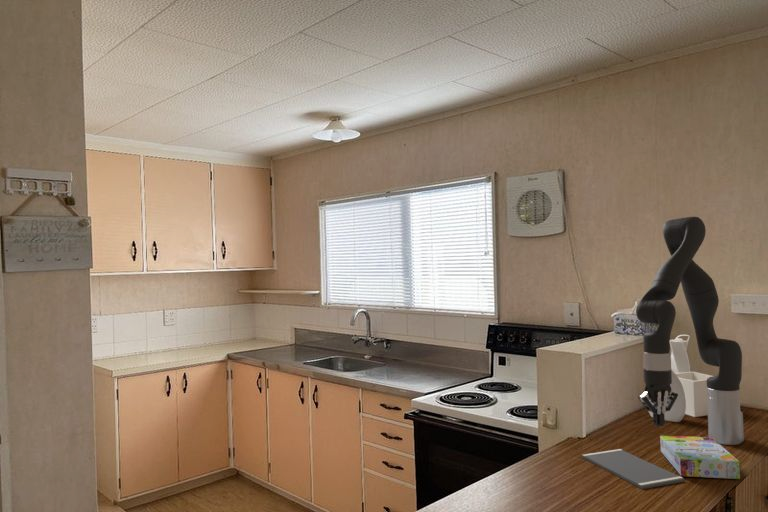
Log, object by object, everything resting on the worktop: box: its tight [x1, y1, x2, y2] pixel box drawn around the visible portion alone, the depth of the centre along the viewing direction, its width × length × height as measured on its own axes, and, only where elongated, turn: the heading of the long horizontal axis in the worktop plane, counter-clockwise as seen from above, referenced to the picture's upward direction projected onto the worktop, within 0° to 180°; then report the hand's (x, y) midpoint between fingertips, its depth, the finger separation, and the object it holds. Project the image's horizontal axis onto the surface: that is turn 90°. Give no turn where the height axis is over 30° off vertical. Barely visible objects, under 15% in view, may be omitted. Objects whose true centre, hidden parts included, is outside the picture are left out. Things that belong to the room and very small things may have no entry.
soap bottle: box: [647, 348, 686, 423], centre depth 211 cm, size 14×8×27 cm, turn 39°
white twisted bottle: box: [670, 334, 691, 373], centre depth 234 cm, size 8×8×28 cm
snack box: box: [659, 435, 741, 480], centre depth 166 cm, size 21×6×15 cm
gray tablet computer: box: [580, 448, 686, 490], centre depth 165 cm, size 14×26×1 cm, turn 17°
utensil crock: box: [675, 371, 714, 418], centre depth 219 cm, size 14×14×14 cm
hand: (659, 425), depth 168 cm, fingers closed
